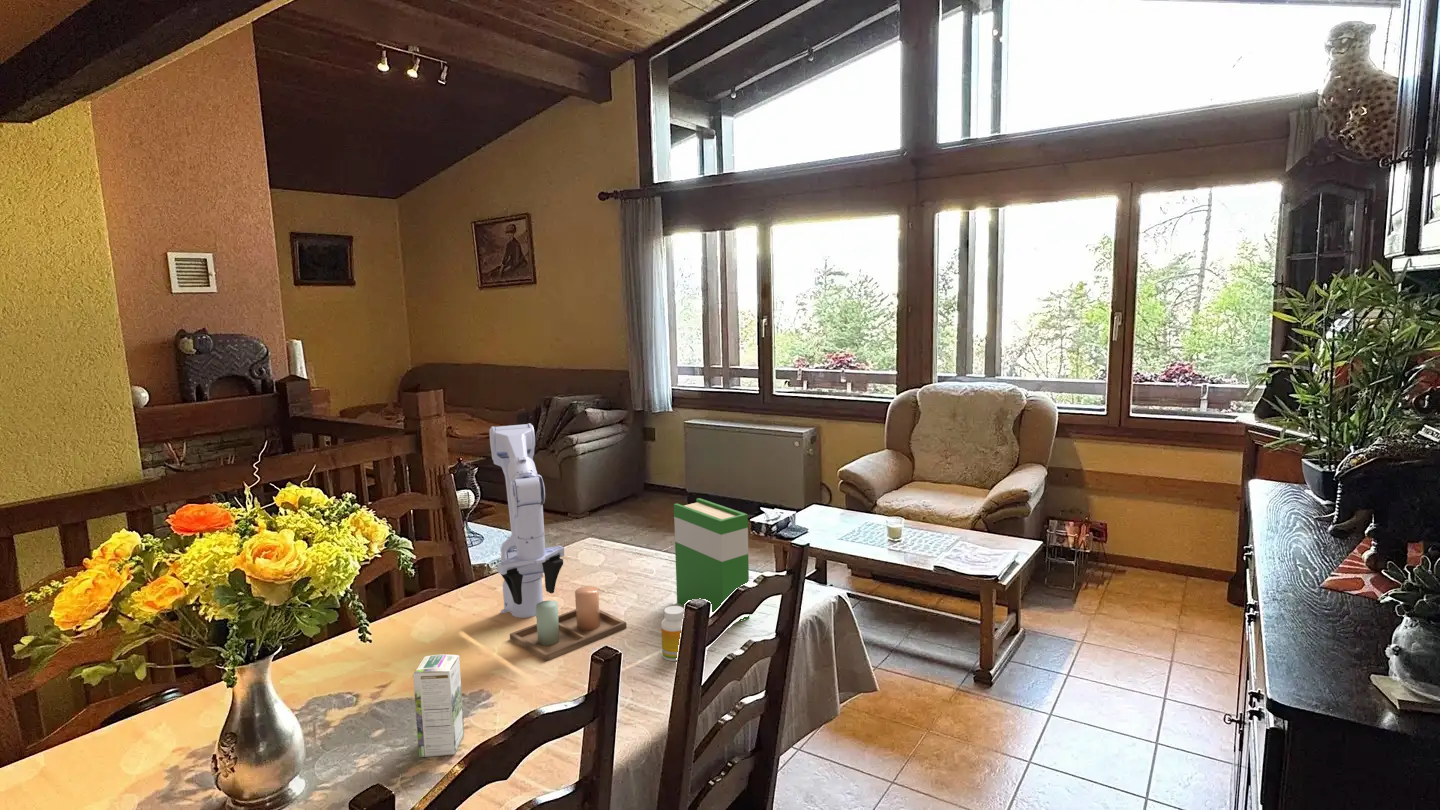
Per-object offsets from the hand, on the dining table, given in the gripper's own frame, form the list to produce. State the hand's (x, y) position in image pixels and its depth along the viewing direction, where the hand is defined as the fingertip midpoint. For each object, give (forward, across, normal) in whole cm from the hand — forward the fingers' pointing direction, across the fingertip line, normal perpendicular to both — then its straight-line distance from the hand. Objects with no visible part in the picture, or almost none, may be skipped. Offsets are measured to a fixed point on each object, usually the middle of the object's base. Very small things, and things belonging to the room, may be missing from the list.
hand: (534, 597), depth 154 cm
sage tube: (+9, +1, -3) cm, 10 cm away
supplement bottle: (+10, +16, -26) cm, 32 cm away
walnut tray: (+10, +6, -3) cm, 12 cm away
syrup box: (+10, -30, -21) cm, 38 cm away
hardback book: (+10, +36, -16) cm, 41 cm away
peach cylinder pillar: (+9, +11, -3) cm, 15 cm away
